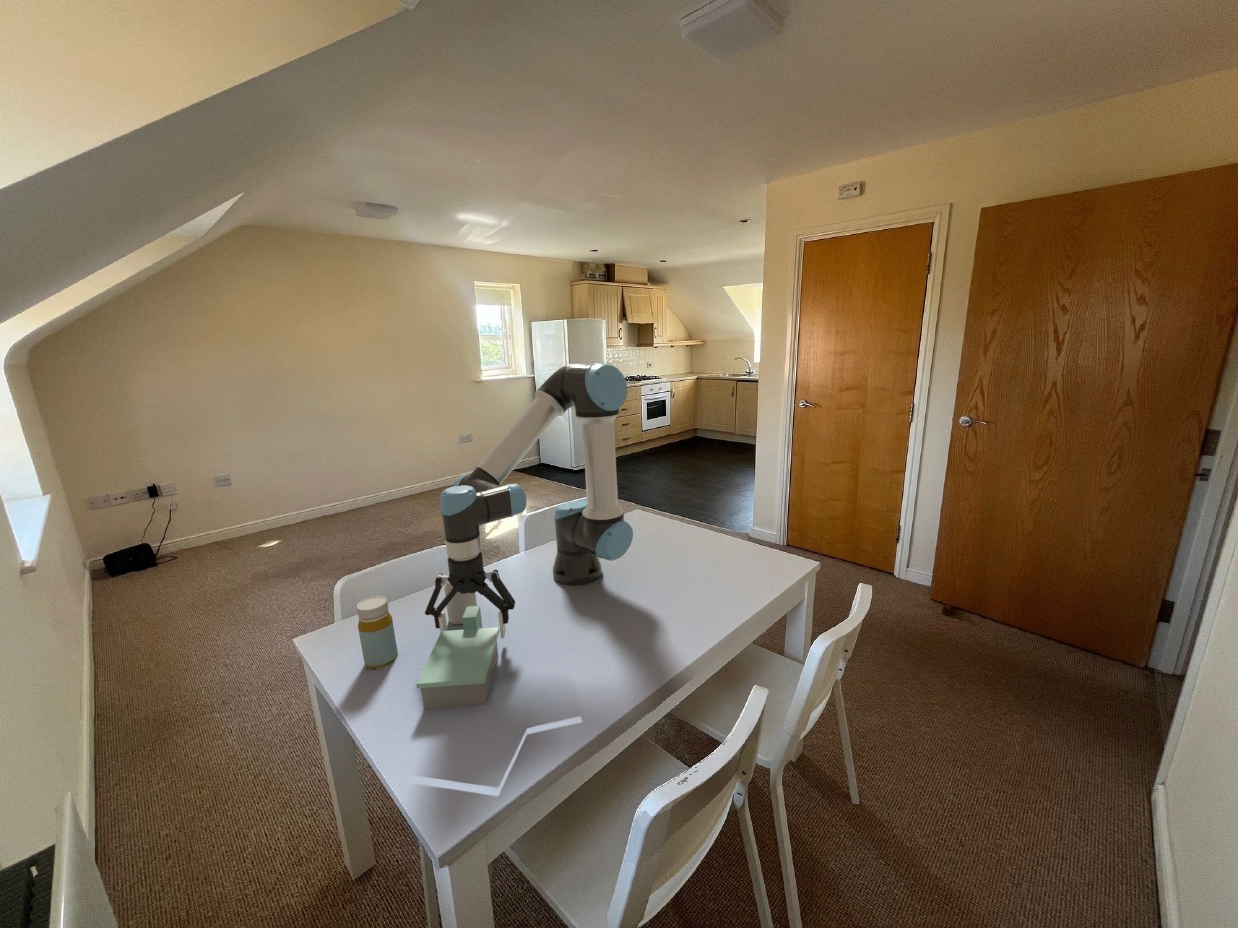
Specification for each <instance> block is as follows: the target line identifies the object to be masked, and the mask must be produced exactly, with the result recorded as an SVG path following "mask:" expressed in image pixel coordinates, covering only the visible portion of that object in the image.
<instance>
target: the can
mask: <svg viewBox="0 0 1238 928" xmlns="http://www.w3.org/2000/svg"><path fill="white" fill-rule="evenodd" d="M443 586H444V587H443V588H444V595H445V596H444V598H445V597H446V595H447V594H448V593H449V591H450V590H451V589H452V587H453V586H452V585H451V584H450V583H449V582H448V581H447V582H446V583H445V585H443ZM467 606H478V604H477V594H476V592H475V593H465V594H461V593H459V592H457V593H456V594H455V596H454V597H453V598H452V599H451V600H450V602H449V603H448V604H447V606H446V612H447V619H448V622H450V623H451V624H453V625H455V626H463V619H462V618H463V615H464V613H465V610H466V608H467Z"/></svg>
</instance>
